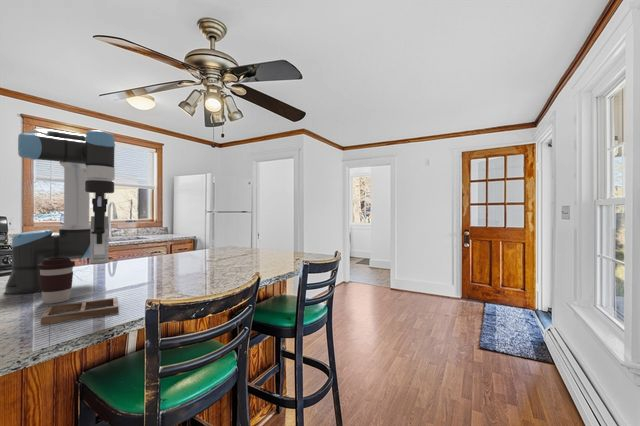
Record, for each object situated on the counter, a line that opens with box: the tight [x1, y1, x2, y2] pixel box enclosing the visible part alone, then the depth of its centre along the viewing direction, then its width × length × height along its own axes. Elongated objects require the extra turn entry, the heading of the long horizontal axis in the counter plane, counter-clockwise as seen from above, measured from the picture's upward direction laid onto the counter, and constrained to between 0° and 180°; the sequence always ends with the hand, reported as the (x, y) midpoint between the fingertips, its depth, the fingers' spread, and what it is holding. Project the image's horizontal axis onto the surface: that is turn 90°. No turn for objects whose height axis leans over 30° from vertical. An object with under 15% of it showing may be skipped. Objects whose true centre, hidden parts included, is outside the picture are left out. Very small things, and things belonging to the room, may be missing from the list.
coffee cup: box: [37, 257, 76, 305], centre depth 105 cm, size 10×10×15 cm
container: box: [89, 215, 110, 265], centre depth 96 cm, size 5×5×15 cm
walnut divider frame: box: [40, 296, 119, 326], centre depth 94 cm, size 12×18×2 cm, turn 125°
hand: (99, 253), depth 96 cm, fingers closed on container, 5 cm apart
